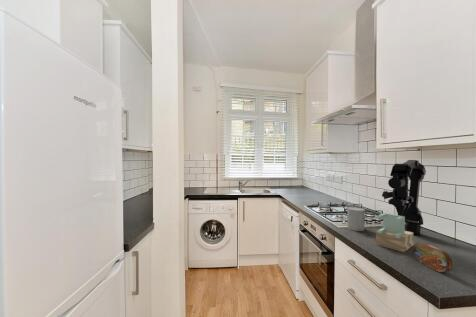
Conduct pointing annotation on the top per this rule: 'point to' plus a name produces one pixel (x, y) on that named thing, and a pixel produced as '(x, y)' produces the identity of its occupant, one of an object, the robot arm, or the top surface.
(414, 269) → the top surface
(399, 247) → the beige ridged block
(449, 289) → the top surface
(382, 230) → the green notched block
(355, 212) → the grey round cylinder
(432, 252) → the tin
